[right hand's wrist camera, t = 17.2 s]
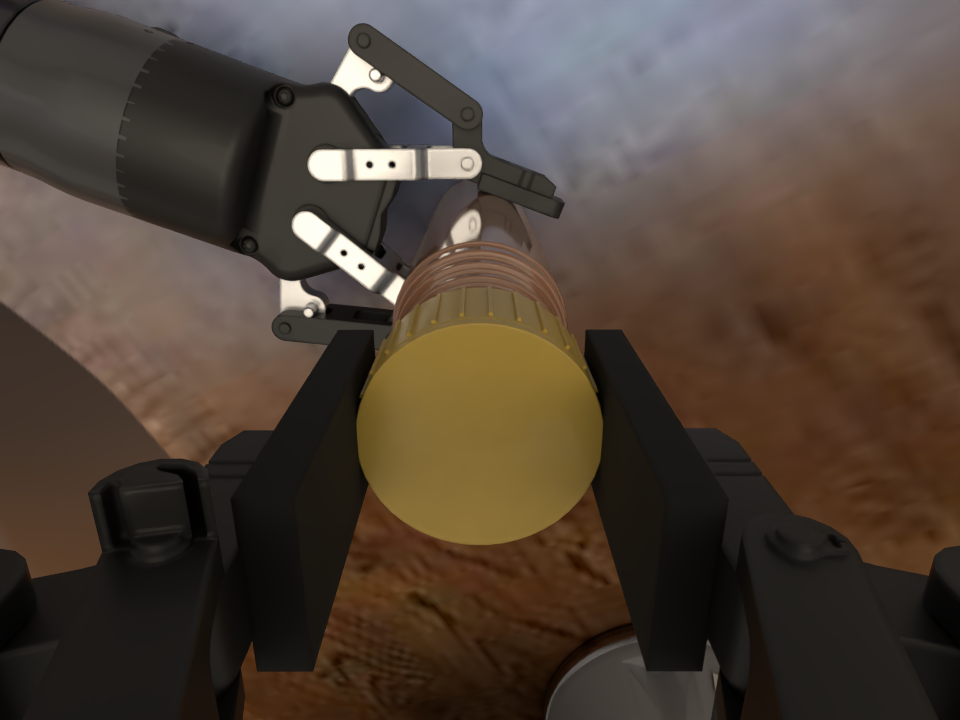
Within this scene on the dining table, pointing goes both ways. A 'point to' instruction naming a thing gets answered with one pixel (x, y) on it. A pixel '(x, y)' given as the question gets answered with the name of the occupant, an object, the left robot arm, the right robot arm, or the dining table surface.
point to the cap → (479, 418)
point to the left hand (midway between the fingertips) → (534, 266)
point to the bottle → (478, 253)
